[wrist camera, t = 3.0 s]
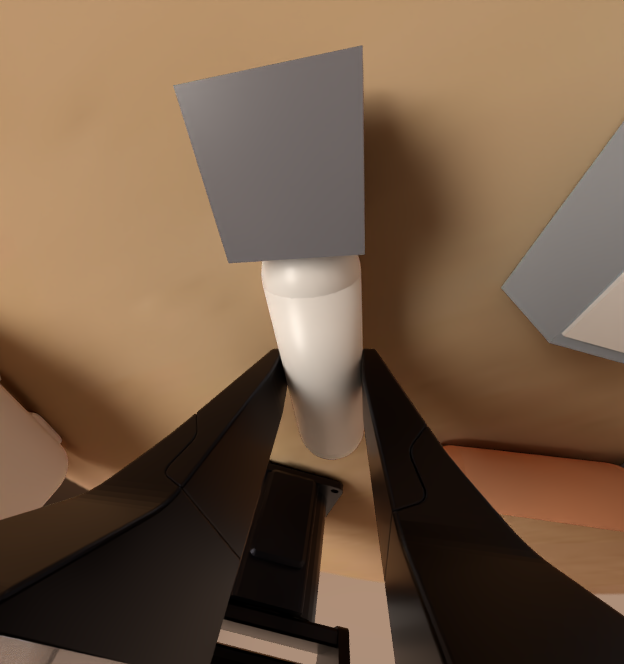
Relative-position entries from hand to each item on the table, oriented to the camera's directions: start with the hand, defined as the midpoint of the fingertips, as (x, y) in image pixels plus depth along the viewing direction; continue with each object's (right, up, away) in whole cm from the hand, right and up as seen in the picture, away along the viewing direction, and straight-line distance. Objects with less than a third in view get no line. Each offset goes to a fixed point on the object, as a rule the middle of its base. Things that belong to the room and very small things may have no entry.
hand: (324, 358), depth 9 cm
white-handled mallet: (0, +1, 0) cm, 1 cm away
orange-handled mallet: (+11, -5, +4) cm, 13 cm away
